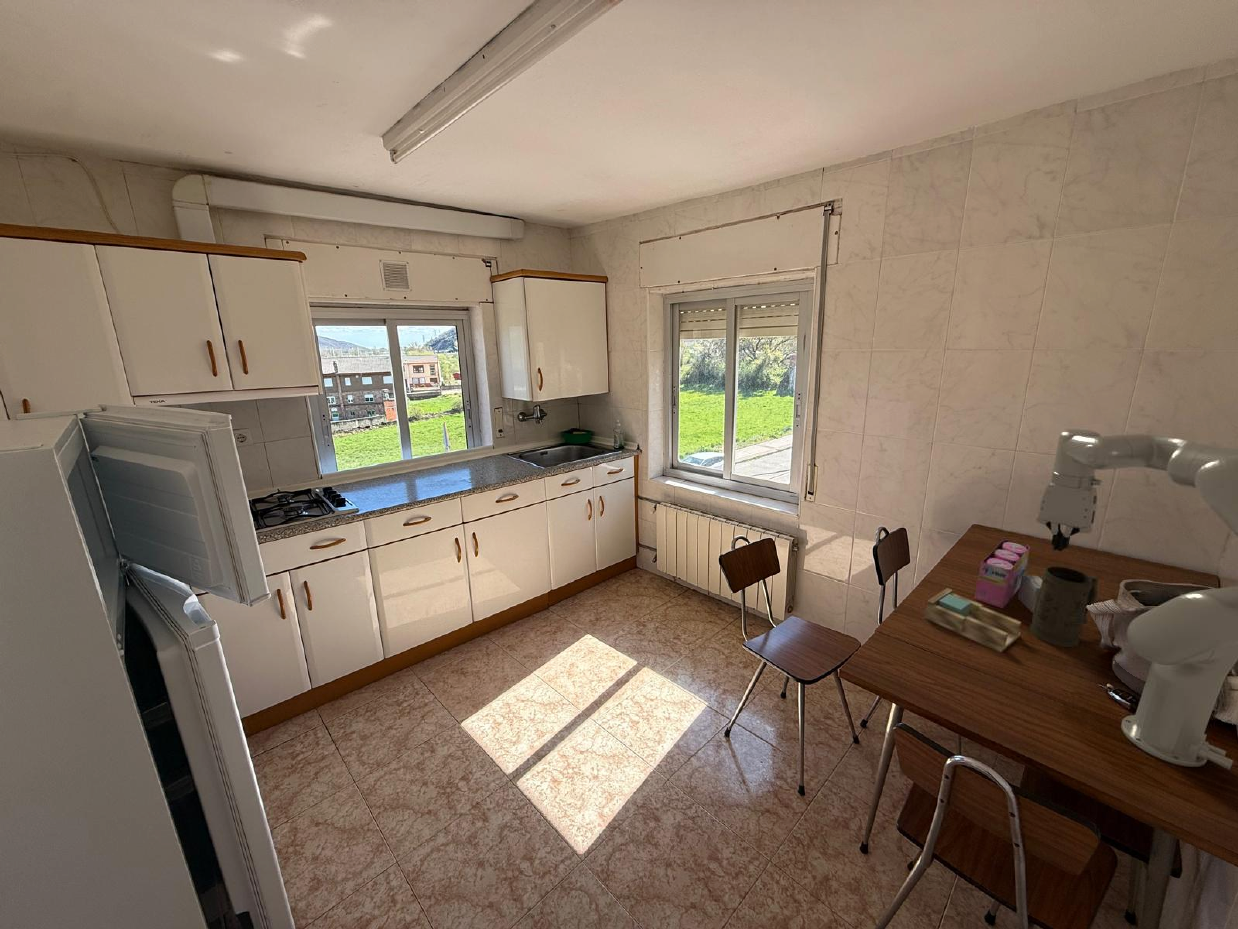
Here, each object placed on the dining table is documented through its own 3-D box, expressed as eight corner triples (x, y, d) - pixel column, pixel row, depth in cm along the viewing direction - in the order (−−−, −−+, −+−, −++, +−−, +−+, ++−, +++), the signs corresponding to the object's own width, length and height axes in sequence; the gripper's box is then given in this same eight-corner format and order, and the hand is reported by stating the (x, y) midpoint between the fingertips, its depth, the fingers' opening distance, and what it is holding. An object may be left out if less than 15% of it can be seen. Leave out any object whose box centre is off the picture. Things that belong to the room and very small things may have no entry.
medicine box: (1047, 613, 150) (1053, 588, 148) (1031, 612, 151) (1036, 587, 149) (1032, 599, 158) (1038, 575, 155) (1016, 598, 159) (1021, 574, 156)
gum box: (997, 573, 174) (1004, 537, 170) (1025, 581, 168) (1033, 545, 164) (973, 599, 160) (980, 561, 156) (1003, 609, 154) (1011, 570, 150)
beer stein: (1058, 651, 134) (1078, 585, 129) (1018, 628, 144) (1035, 566, 139) (1098, 642, 138) (1119, 578, 133) (1056, 621, 148) (1074, 560, 143)
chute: (1019, 636, 141) (1023, 618, 140) (1000, 652, 135) (1004, 633, 133) (944, 604, 158) (947, 587, 156) (924, 617, 151) (927, 600, 150)
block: (968, 616, 149) (970, 602, 148) (958, 623, 146) (960, 609, 145) (946, 607, 154) (949, 594, 153) (936, 614, 151) (939, 600, 150)
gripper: (1118, 483, 117) (1103, 554, 122) (1039, 471, 129) (1028, 536, 134) (1108, 490, 113) (1093, 563, 118) (1028, 477, 125) (1017, 544, 130)
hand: (1059, 549), depth 126 cm, fingers closed
